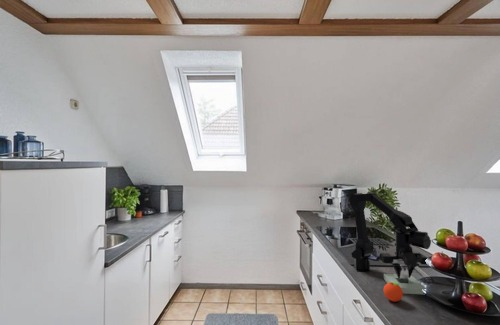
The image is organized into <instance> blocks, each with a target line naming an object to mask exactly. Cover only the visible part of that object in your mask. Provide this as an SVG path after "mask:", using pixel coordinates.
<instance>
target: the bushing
mask: <svg viewBox="0 0 500 325" xmlns="http://www.w3.org/2000/svg"><path fill="white" fill-rule="evenodd" d="M399 264H400V266H399V272H400V278H399V281H400V282H402V283H409V266H408V265H405V264H403V263H399Z"/></svg>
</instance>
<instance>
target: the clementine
mask: <svg viewBox="0 0 500 325" xmlns="http://www.w3.org/2000/svg"><path fill="white" fill-rule="evenodd" d="M399 285H400V284H398V283H392V282H390V283H387V282H386V284H385V285H384V286H383V294H384V296H385V297H386V298H387V299H388V300H389V301H390V302H391V301H392V302H394V303H395V302H399V301H401V300H402V299H403V296H404V294H403V291H402V289H401V287H400V286H399ZM401 286H402V285H401ZM402 287H403V286H402Z"/></svg>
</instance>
